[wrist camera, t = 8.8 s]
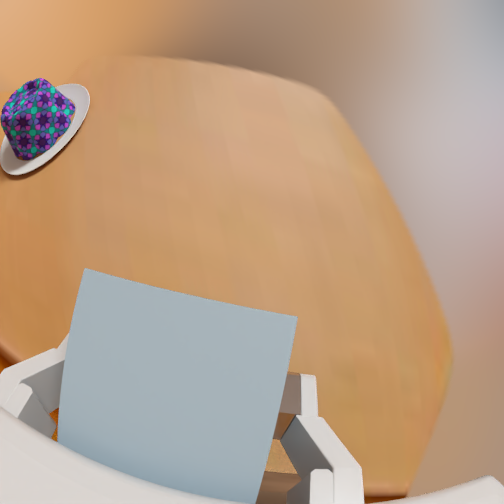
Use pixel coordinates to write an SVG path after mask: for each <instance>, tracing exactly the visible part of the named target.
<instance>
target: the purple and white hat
mask: <svg viewBox="0 0 504 504" xmlns="http://www.w3.org/2000/svg"><path fill="white" fill-rule="evenodd" d="M67 98H69V99H71V100H72V101H73V102H74V103H75V106H76V112H75V117H74V119H73V122H72V124H71V120H70V117H71V116H72V115H73V113H74V111H75V106H74V104H72V103H71V102H70V101H69V99H67ZM89 103H90V96H89V93H88V91H87V89H86V88H85V87H83V86H81V85H78V84H65V85H61V86H58V87H54V86H52V85H51V84H50V83H49V82H48V81H46V80H45V79H42V78H38V79H35V80H34V81H29V82H27V83H25V84H24V85H23V86H22V87H21V88H20V89H18V90H16V91H15V92H14V93H13V94H12V95H11V97H10V99H9V100H8V101H7V102H6V103H5V105H4V107H3V109H2V115H1V126H2V128H3V130H4V132H5V137H4V139H3V142H2V146H1V150H0V163H1V166H2V168H3V170H4V171H5V172H7V173H8V174H11V175H20V174H24V173H27V172H30V171H32V170H34V169H36V168H38V167H39V166H41V165H43V164H44V163H45V162H47V161H48V160H49V159H51V158H52V157H53V156H54V155H55V154H56V153H58V152H59V151H60V150H61V149H62V148H63V147H64V146H65V145H66V144H67V143H68V141H69V140H70V139H71V138H72V136H73V135H74V134H75V133H76V131H77V130H78V128H79V127H80V125H81V124H82V122H83V120H84V118H85V116H86V114H87V111H88V108H89ZM70 124H71V125H70ZM69 126H70V127H69ZM68 128H69V129H68ZM67 129H68V130H67ZM66 131H67V132H66ZM65 132H66V133H65ZM64 133H65V134H64ZM62 134H64V136H63V137H62V138H61V139H60V140H59V141H58V142H57V143H56V144H55V142H56V140H57V138H58V137H59V136H61V135H62ZM54 144H55V145H54ZM53 145H54V146H53ZM52 146H53V147H52ZM51 147H52V148H51ZM50 148H51V149H50ZM49 149H50V150H49ZM47 150H48V151H47ZM46 151H47V152H46ZM44 152H45V153H44ZM38 153H44V154H42V155H41V156H39V157H37V158H35V159H33V158H34V157H35V156H36V155H37V154H38ZM15 155H16V156H17V157H19V156H22V158H23V159H24V160H28V161H22V160H19V159H18V158H17V157H16V156H15ZM30 159H32V160H30Z"/></svg>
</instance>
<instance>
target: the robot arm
mask: <svg viewBox="0 0 504 504" xmlns="http://www.w3.org/2000/svg"><path fill="white" fill-rule="evenodd" d="M68 338H69V333H68V335H67V336H66V337H65V339H64V340H63V341H62V343H61V344H60V345H59V347H58V348H57V349H55V348H52V349H50V350H48V351H45V352H43V353H41V354H39V355H36V356H34V357H32V358H29V359H27V360H25V361H22V362H20V363H18V364H15V365H13V366H11V367H8V368H6V369H4V370H3V371H2V373H1V374H0V504H251V503H243V502H235V501H229V500H223V499H217V498H212V497H206V496H202V495H197V494H192V493H188V492H184V491H180V490H176V489H172V488H169V487H165V486H162V485H158V484H155V483H152V482H149V481H146V480H143V479H140V478H137V477H134V476H131V475H128V474H126V473H123V472H120V471H118V470H115V469H113V468H110V467H108V466H105V465H103V464H101V463H98V462H96V461H94V460H92V459H90V458H87V457H85V456H83V455H81V454H79V453H77V452H75V451H73V450H71V449H69V448H67V447H65V446H63V445H61V444H60V443H58V442H56V441H54V440H52V439H51V437H52V435H53V433H54V431H55V429H56V423H55V422H54V420H53V419H52V418H51V416H50V415H49V413H50V412H52V411H53V410H55V409H56V408H58V407H59V404H60V393H61V384H62V376H63V369H64V362H65V355H66V349H67V343H68ZM273 439H278V440H280V442H281V444H282V446H283V447H284V449H285V451H286V453H287V455H288V457H289V458H290V460H291V462H292V464H293V466H294V467H295V469H296V471H297V473H298V475H299V476H300V478H301V481H300V482H299V483H298V484H296V485H295V486H294V487H293V488H291V489H290V490H289V491H287V499H286V504H364V493H363V479H362V468H361V467H360V465H359V464H358V463H357V461H356V460H355V459H354V458H353V456H352V455H351V454H350V453H349V451H348V450H347V449H346V447H345V446H344V445H343V444H342V442H341V441H340V440H339V438H338V437H337V436H336V435H335V433H334V432H333V431H332V429H331V428H330V427H329V425H328V424H327V423H326V421H325V420H324V419H323V417H318V403H317V386H316V377H315V375H307V374H299V373H294V372H287V376H286V381H285V386H284V390H283V395H282V400H281V404H280V409H279V413H278V418H277V422H276V426H275V430H274V435H273ZM370 504H504V486H503V485H502V484H501V483H500V482H499V481H498V480H496V479H495V478H494V477H493V476H490V475H486V476H482V477H480V478H476V479H474V480H471V481H468V482H465V483H462V484H459V485H456V486H452V487H449V488H446V489H442V490H438V491H435V492H431V493H427V494H423V495H418V496H414V497H408V498H403V499H398V500H392V501H385V502H378V503H370Z"/></svg>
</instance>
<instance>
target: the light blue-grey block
mask: <svg viewBox="0 0 504 504" xmlns="http://www.w3.org/2000/svg"><path fill="white" fill-rule="evenodd" d="M297 318H298V317H296V316H291V315H285V314H280V313H274V312H269V311H264V310H259V309H253V308H248V307H243V306H239V305H234V304H229V303H224V302H219V301H215V300H210V299H206V298H201V297H197V296H192V295H188V294H184V293H179V292H175V291H171V290H167V289H162V288H158V287H154V286H150V285H146V284H142V283H138V282H135V281H131V280H127V279H123V278H119V277H116V276H112V275H108V274H105V273H101V272H97V271H94V270H90V269H87V268H85V269H84V273H83V277H82V280H81V284H80V288H79V292H78V296H77V300H76V304H75V309H74V313H73V318H72V322H71V327H70V332H69V338H68V343H67V349H66V355H65V362H64V369H63V376H62V384H61V393H60V404H59V418H58V443H60V444H61V445H63V446H65V447H67V448H69V449H71V450H73V451H75V452H77V453H79V454H81V455H83V456H85V457H87V458H90V459H92V460H94V461H96V462H98V463H101V464H103V465H105V466H108V467H110V468H113V469H115V470H118V471H120V472H123V473H126V474H128V475H131V476H134V477H137V478H140V479H143V480H146V481H149V482H152V483H155V484H158V485H162V486H165V487H169V488H172V489H176V490H180V491H184V492H188V493H192V494H197V495H202V496H206V497H212V498H217V499H223V500H229V501H235V502H243V503H251V504H255V503H256V500H257V496H258V493H259V489H260V485H261V482H262V478H263V474H264V470H265V467H266V463H267V459H268V455H269V451H270V447H271V443H272V439H273V435H274V430H275V426H276V422H277V418H278V413H279V409H280V404H281V400H282V395H283V390H284V386H285V381H286V376H287V371H288V366H289V361H290V356H291V351H292V346H293V340H294V335H295V329H296V324H297Z"/></svg>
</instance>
